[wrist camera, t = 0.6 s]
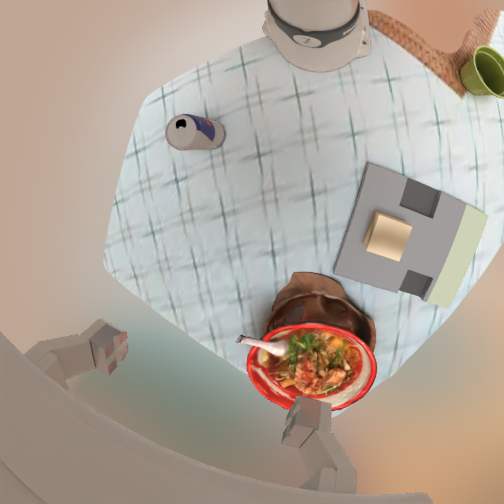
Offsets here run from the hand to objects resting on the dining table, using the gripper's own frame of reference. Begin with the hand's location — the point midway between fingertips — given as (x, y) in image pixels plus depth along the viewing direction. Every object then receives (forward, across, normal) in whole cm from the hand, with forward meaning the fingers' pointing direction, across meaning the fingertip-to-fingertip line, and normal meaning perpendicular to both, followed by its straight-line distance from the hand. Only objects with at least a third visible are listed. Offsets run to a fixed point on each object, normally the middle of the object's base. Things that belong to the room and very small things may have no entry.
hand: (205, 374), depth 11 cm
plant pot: (+40, -27, -35) cm, 59 cm away
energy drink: (+40, +17, -8) cm, 44 cm away
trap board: (+39, -23, -1) cm, 46 cm away
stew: (+40, -11, +24) cm, 48 cm away
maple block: (+37, -16, -1) cm, 41 cm away
